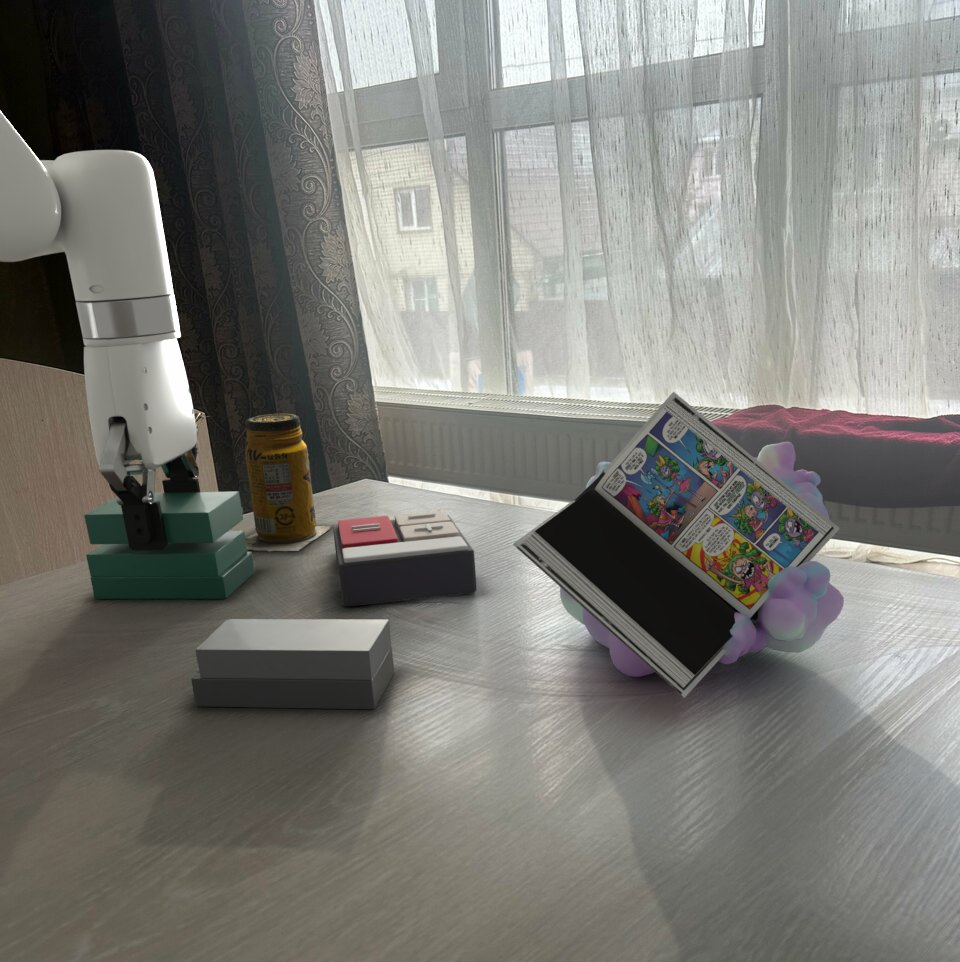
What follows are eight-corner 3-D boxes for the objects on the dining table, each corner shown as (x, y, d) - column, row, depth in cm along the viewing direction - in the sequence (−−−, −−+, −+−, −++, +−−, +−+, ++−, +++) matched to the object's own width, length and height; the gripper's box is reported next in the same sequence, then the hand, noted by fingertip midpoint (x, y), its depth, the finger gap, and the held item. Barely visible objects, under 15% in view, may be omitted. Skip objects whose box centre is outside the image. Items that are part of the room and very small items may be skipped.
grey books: (195, 706, 65) (185, 650, 64) (228, 671, 70) (219, 618, 69) (374, 709, 63) (368, 651, 62) (394, 673, 68) (389, 618, 67)
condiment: (332, 528, 104) (318, 410, 99) (298, 552, 96) (282, 427, 91) (268, 526, 105) (252, 411, 101) (229, 550, 98) (210, 427, 93)
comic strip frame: (782, 519, 81) (676, 332, 73) (970, 591, 61) (851, 344, 54) (583, 674, 80) (458, 501, 73) (707, 796, 61) (553, 575, 54)
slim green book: (90, 544, 85) (83, 514, 84) (128, 521, 91) (123, 493, 90) (213, 543, 83) (208, 512, 82) (243, 519, 89) (239, 491, 88)
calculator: (448, 505, 95) (474, 541, 81) (451, 550, 96) (477, 592, 82) (331, 517, 93) (337, 555, 79) (336, 562, 95) (343, 607, 80)
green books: (94, 599, 86) (85, 555, 85) (132, 573, 93) (123, 531, 91) (226, 599, 85) (218, 553, 83) (255, 572, 91) (248, 530, 89)
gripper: (136, 314, 89) (171, 509, 96) (26, 336, 73) (78, 568, 80) (215, 310, 88) (246, 508, 94) (122, 331, 72) (166, 567, 79)
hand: (168, 534), depth 87 cm, fingers closed on slim green book, 7 cm apart
